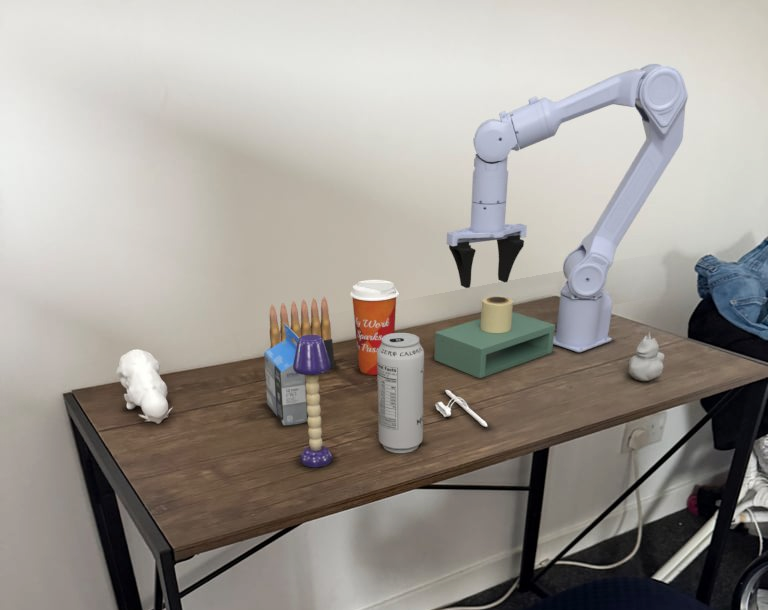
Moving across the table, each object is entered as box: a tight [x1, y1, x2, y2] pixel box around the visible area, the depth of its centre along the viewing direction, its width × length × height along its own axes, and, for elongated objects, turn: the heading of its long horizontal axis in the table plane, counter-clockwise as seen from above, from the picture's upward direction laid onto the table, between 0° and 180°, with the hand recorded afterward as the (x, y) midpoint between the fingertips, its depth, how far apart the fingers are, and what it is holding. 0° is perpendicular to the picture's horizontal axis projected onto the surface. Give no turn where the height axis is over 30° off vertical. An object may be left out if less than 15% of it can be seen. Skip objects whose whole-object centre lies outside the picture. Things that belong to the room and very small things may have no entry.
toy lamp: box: [293, 335, 333, 468], centre depth 96 cm, size 5×5×17 cm
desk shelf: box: [433, 311, 556, 379], centre depth 130 cm, size 18×11×5 cm, turn 129°
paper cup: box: [349, 279, 400, 376], centre depth 123 cm, size 8×8×14 cm
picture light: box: [434, 389, 488, 428], centre depth 112 cm, size 14×4×2 cm, turn 21°
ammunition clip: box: [269, 296, 336, 370], centre depth 123 cm, size 11×2×12 cm, turn 116°
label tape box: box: [263, 323, 308, 426], centre depth 110 cm, size 9×4×12 cm, turn 23°
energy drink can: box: [376, 332, 425, 454], centre depth 99 cm, size 6×6×15 cm
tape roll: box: [480, 295, 514, 333], centre depth 127 cm, size 5×5×5 cm
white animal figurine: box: [116, 348, 173, 425], centre depth 111 cm, size 6×8×12 cm
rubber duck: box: [628, 331, 666, 382], centre depth 120 cm, size 5×7×8 cm
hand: (484, 283), depth 132 cm, fingers open, 7 cm apart
